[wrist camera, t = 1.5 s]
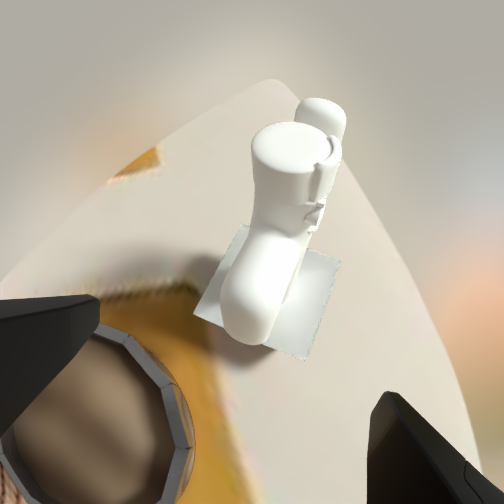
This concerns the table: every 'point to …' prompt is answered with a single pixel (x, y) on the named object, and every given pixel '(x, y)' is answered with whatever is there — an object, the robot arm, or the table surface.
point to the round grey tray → (176, 415)
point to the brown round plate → (100, 431)
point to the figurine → (281, 237)
